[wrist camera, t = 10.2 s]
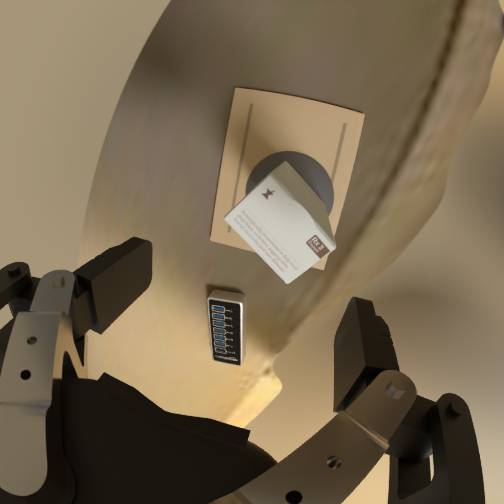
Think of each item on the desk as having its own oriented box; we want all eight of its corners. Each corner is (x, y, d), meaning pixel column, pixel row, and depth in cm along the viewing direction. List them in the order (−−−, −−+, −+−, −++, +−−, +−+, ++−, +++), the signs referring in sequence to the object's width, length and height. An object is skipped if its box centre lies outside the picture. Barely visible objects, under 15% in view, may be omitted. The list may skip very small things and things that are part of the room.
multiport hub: (247, 292, 34) (242, 302, 32) (246, 356, 38) (242, 367, 36) (213, 287, 35) (206, 297, 33) (217, 350, 39) (212, 361, 37)
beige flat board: (237, 88, 25) (235, 87, 24) (363, 115, 23) (365, 114, 22) (212, 238, 32) (210, 240, 31) (323, 267, 30) (323, 270, 29)
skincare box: (255, 187, 28) (214, 219, 17) (287, 157, 26) (266, 168, 15) (296, 231, 28) (282, 290, 17) (329, 204, 26) (338, 248, 16)
